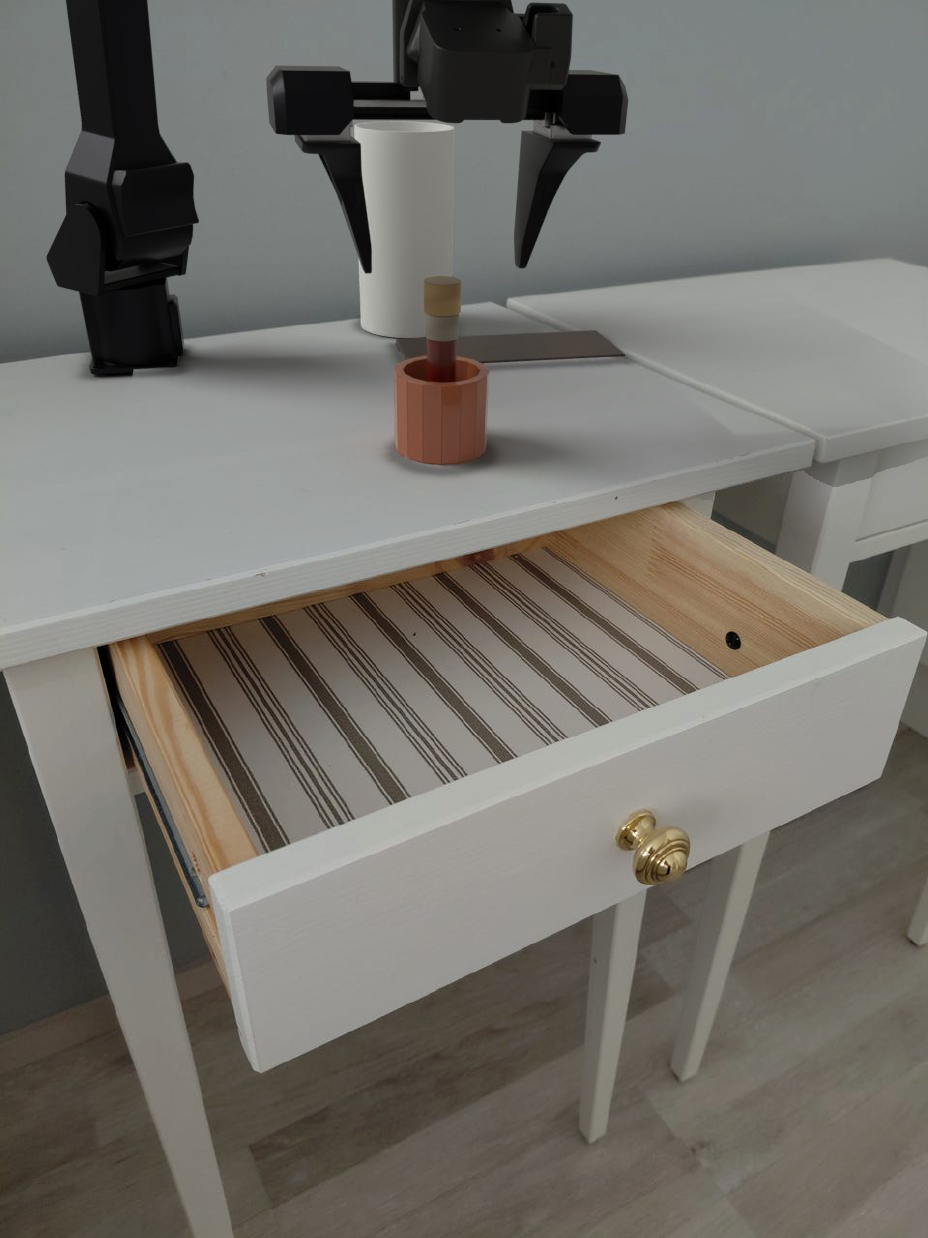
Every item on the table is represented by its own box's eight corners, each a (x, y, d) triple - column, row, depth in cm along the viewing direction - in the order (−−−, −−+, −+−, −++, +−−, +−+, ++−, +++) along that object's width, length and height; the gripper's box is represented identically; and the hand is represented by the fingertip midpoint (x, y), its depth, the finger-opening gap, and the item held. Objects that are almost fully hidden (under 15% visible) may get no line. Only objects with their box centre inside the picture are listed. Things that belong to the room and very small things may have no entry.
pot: (404, 474, 57) (403, 387, 54) (389, 438, 62) (387, 356, 59) (495, 467, 58) (499, 382, 55) (473, 433, 63) (476, 352, 60)
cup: (440, 341, 80) (442, 133, 71) (349, 333, 81) (340, 128, 73) (459, 316, 87) (464, 123, 78) (375, 309, 88) (370, 118, 79)
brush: (427, 453, 59) (427, 285, 53) (420, 440, 60) (420, 276, 55) (461, 451, 59) (465, 284, 53) (453, 438, 61) (456, 275, 55)
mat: (410, 372, 73) (410, 364, 73) (395, 345, 79) (395, 338, 79) (624, 361, 77) (625, 354, 77) (595, 336, 83) (596, 329, 82)
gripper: (267, -81, 37) (296, 313, 46) (693, -61, 41) (647, 298, 50) (253, -65, 46) (280, 262, 55) (604, -50, 50) (578, 253, 59)
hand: (445, 269), depth 54 cm, fingers open, 9 cm apart
